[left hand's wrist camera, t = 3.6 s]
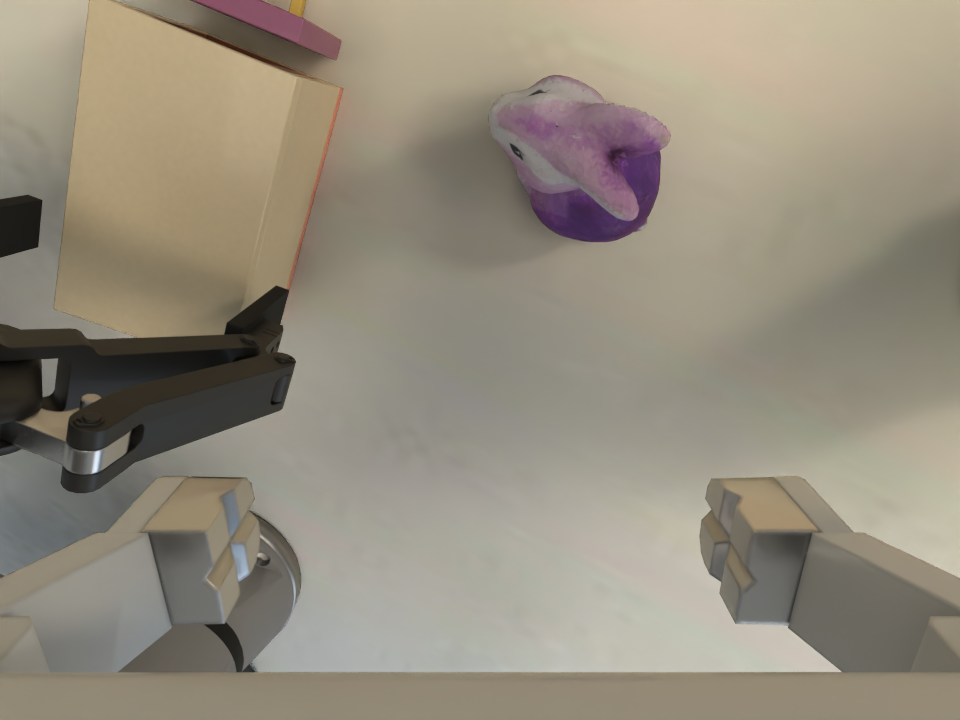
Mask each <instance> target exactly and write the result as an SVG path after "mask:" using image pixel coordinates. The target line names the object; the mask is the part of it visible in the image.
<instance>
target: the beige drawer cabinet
mask: <svg viewBox="0 0 960 720" xmlns="http://www.w3.org/2000/svg"><path fill="white" fill-rule="evenodd" d="M137 10H138V11H137ZM139 11H141V12H139ZM142 12H144V13H147V14H150V15H153V16H156V17H159V18H162V19H165V20H168V21H171V22H174V23H177V24H180V25H183V26H186V27H189V28H192V29H195V30H198V29H196V28H193V27H191V26H189V25H186V24H183V23H180V22H177V21H174V20H171V19H168V18H165V17H162V16H159V15H156V14H153V13H150V12H147V11H144V10H141V9H138V8H135V7H132V6H129V5H126V4H123V3H120V2H117V1H114V0H89V6H88V15H87V23H86V32H85V41H84V49H83V58H82V67H81V75H80V84H79V93H78V101H77V110H76V119H75V127H74V136H73V145H72V153H71V162H70V170H69V179H68V188H67V196H66V205H65V214H64V222H63V231H62V240H61V248H60V257H59V266H58V274H57V283H56V291H55V300H54V309H55V310H58V311H61V312H64V313H67V314H70V315H73V316H76V317H79V318H82V319H85V320H87V321H90V322H93V323H96V324H99V325H102V326H105V327H108V328H111V329H114V330H117V331H120V332H123V333H125V334H128V335H131V336H134V337H137V338H149V337H175V336H202V335H224V333H225V328H226V324H227V322H228V321H230V320H231V319H232V318H234V317H235V316H236V315H238V314H239V313H240V312H242V311H243V310H244V309H245V308H247V307H248V306H249V305H251V304H252V303H253V302H255V301H256V300H257V299H259V298H260V297H261V296H263V295H264V294H265V293H267V292H268V291H269V290H271V289H272V288H273V287H275V286H276V285H277V286H279V287H282V288H285V289H288V290H289V289H290V285H291V282H292V278H293V274H294V270H295V267H296V263H297V259H298V256H299V252H300V248H301V244H302V241H303V237H304V233H305V230H306V226H307V222H308V218H309V215H310V211H311V207H312V204H313V200H314V196H315V192H316V189H317V185H318V181H319V178H320V174H321V170H322V166H323V163H324V159H325V155H326V152H327V148H328V144H329V140H330V137H331V133H332V129H333V126H334V122H335V118H336V114H337V111H338V107H339V103H340V100H341V96H342V92H343V88H340V87H338V86H335V85H333V84H330V83H328V82H325V81H323V80H320V79H318V78H316V77H313V76H311V75H308V74H306V73H304V74H306V75H308V76H311V77H313V78H315V79H312V78H308V77H305V76H301V75H297V74H294V73H290V72H286V71H284V70H281V69H279V68H277V67H274V66H272V65H269V64H267V63H264V62H262V61H259V60H257V59H254V58H252V57H250V56H247V55H245V54H242V53H240V52H237V51H235V50H232V49H230V48H227V47H225V46H223V45H220V44H218V43H215V42H213V41H210V40H208V39H205V38H203V37H201V36H198V35H196V34H193V33H191V32H188V31H186V30H183V29H181V28H178V27H176V26H174V25H171V24H169V23H166V22H164V21H161V20H159V19H156V18H154V17H151V16H149V15H147V14H144V13H142ZM198 31H201V30H198ZM201 32H203V31H201ZM203 33H206V32H203ZM206 34H208V33H206ZM208 35H210V34H208ZM211 36H213V35H211ZM213 37H215V36H213ZM216 38H218V37H216ZM218 39H220V38H218ZM220 40H223V39H220ZM223 41H225V40H223ZM225 42H228V41H225ZM228 43H230V42H228ZM230 44H232V43H230ZM233 45H235V44H233ZM235 46H237V45H235ZM238 47H240V46H238ZM240 48H242V47H240ZM242 49H245V48H242ZM245 50H247V49H245ZM247 51H250V50H247ZM250 52H252V51H250ZM252 53H254V52H252ZM255 54H257V53H255ZM257 55H259V54H257ZM260 56H262V55H260ZM262 57H264V56H262ZM264 58H267V57H264ZM267 59H269V58H267ZM269 60H272V59H269ZM272 61H274V60H272ZM274 62H276V61H274ZM277 63H279V62H277ZM279 64H281V63H279ZM282 65H284V64H282ZM284 66H286V65H284ZM286 67H289V66H286ZM289 68H291V67H289ZM291 69H294V68H291ZM294 70H296V69H294ZM296 71H298V70H296ZM299 72H301V71H299ZM301 73H303V72H301ZM288 293H289V292H288Z"/></svg>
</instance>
